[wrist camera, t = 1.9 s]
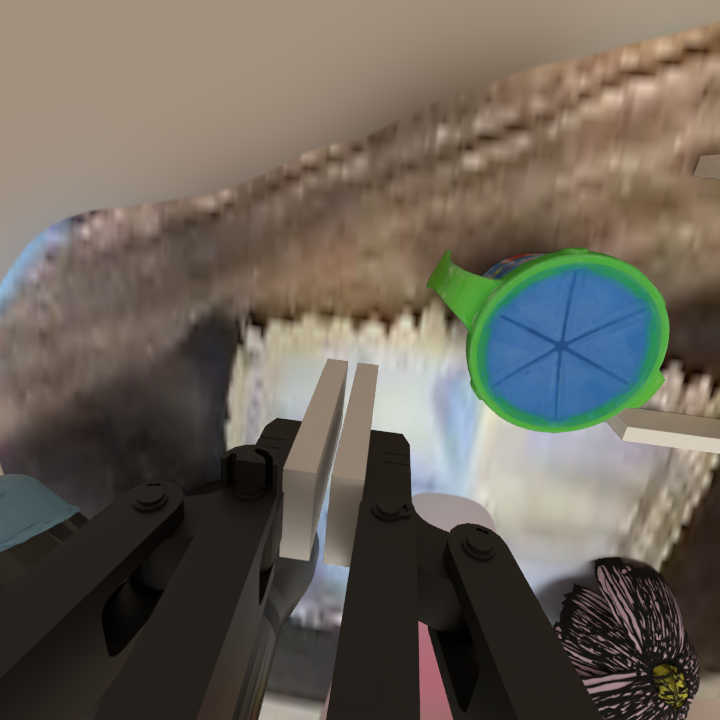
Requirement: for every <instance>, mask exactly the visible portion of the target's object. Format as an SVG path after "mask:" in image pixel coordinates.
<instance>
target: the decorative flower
mask: <svg viewBox="0 0 720 720" xmlns="http://www.w3.org/2000/svg"><path fill="white" fill-rule="evenodd" d="M652 569H653V568H652ZM595 576H596V578H597V581H598V585H599V588H600V591H601V593H602V594H603V596H602V595H600V594H598V593H596V592H595V591H593V590H591V589H588V588H586V587H583V586H580V585H576V584H574V587H573V591H572V592H570V593H567V594H564V596H565V597H566V599H565V600H564V601H563V602H562V603H561V604H562V605H563V609H562V611H561V613H560V615H561V617H560V622H559V623H558V622H557V621H556V623H555V625H553V626H552V627H553V629H554V631H555V632H556V634H557V636H558V638H559V640H560V641H561V643H562V645H563V647H564V649H565V650H566V652H567V654H568V656H569V658H570V659H571V661H572V663H573V665H574V667H575V668H576V670H577V672H578V674H579V676H580V677H581V679H582V681H583V683H584V685H585V686H586V688H587V690H588V692H589V694H590V695H591V697H592V699H593V701H594V703H595V704H596V706H597V708H598V710H599V712H600V713H601V715H602V717H603V719H604V720H685V719H686V717H687V713H688V710H689V704H691V703H692V701H693V699H694V697H695V695H696V693H697V691H698V688H699V681H700V667H699V661H698V658H697V653H696V651H695V649H694V646H693V644H692V642H691V640H690V638H689V636H688V634H687V632H685V630H684V625H683V619H682V615H681V612H680V609H679V606H678V604H677V601H676V599H675V597H674V595H673V593H672V591H671V589H670V588H669V586H668V584H667V583H666V581H665V580H664V578H663V577H662V576H660V575H659V574H658V573H657V572H656V571H655V570H654V569H653V570H651V569H650V568H648V567H647V569H645V568H641V567H639V568H638V567H637V568H633V566H632V565H630V564H626V563H624V562H622V560H621V559H620V558H604V559H598V561H597V560H596V563H595Z"/></svg>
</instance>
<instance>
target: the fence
mask: <svg viewBox="0 0 720 720" xmlns="http://www.w3.org/2000/svg"><path fill="white" fill-rule="evenodd" d="M693 176H699V177H708V178H717V179H720V154H717V155H705V156H700V159H699V161H698V164H697V167H696V169H695V172H694V174H693ZM606 422H607V423H608V425H609V426H610V427H611V428H612V429H613V430H614V432H615V433H616V434H617V435H618V436H619V437H620V439H621V440H623V441H631V442H638V443H645V444H653V445H660V446H668V447H675V448H682V449H690V450H697V451H704V452H712V453H719V454H720V419H714V418H706V417H699V416H691V415H684V414H676V413H669V412H661V411H654V410H646V409H638V408H626V409H624V410H623V411H621V412H620V413H618V414H617V415H615V416H613V417H612V418H610V419H608V420H606Z"/></svg>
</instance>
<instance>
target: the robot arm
mask: <svg viewBox="0 0 720 720" xmlns="http://www.w3.org/2000/svg"><path fill="white" fill-rule="evenodd" d="M347 368H348V361H341V360H334V359H328V360H327V362H326V364H325V367H324V369H323V372H322V374H321V377H320V379H319V382H318V384H317V387H316V389H315V391H314V394H313V396H312V399H311V401H310V404H309V406H308V409H307V411H306V414H305V416H304V419H303V421H295V420H288V419H281V418H276V419H275V420H273V421H272V422H271V423H269V424H268V425H266V426H265V428H264V430H263V432H262V434H261V435H260V438H259V439H258V441H257V443H256V445H243V446H238V447H235V448H233V449H231V450H229V451H227V452H226V453H225V454H224V455H223V456H222V457H221V482H218V483H213V484H210V485H207V486H204V487H202V488H200V489H198V490H197V491H195V492H193V493H192V494H191V495H190V496H184V495H183V491H182V490H181V488H180V486H178V485H177V484H175V483H173V482H169V481H163V480H158V481H149V482H145V483H142V484H139V485H137V486H135V487H133V488H132V489H130V490H128V491H127V492H125V493H124V494H123V495H122V496H120V497H119V498H118V499H116V500H115V501H114V502H113V503H111V504H110V505H109V506H108V507H106V508H105V509H104V510H103V511H101V512H100V513H99V514H98V515H96V516H95V517H94V518H92V519H91V520H90V521H89V520H88V519H87V518H86V517H85V516H83V515H82V514H81V513H80V512H79V511H80V510H81V509H80V508H79V507H78V506H77V505H73V504H72V505H70V504H69V503H67V502H66V501H65V500H63V499H62V498H61V497H59V496H58V495H57V494H56V493H54V492H53V491H52V490H50V489H49V488H48V487H46V486H45V485H44V484H42V483H41V482H40V481H38V480H37V479H35V478H33V477H31V476H28V475H24V474H7V475H2V476H0V720H258V719H259V715H260V711H261V707H262V703H263V699H264V695H265V691H266V687H267V683H268V679H269V675H270V671H271V667H272V663H273V659H274V655H275V651H276V647H277V643H278V640H279V636H280V632H281V629H282V627H283V626H284V624H285V623H286V621H287V619H288V618H289V616H290V615H291V613H292V612H293V610H294V609H295V607H296V606H297V604H298V602H299V601H300V599H301V598H302V596H303V595H304V593H305V592H306V590H307V588H308V587H309V585H310V583H311V581H312V579H313V576H314V573H315V568H316V564H317V559H318V554H319V541H318V536H317V533H316V529H317V525H318V521H319V517H320V513H321V509H322V504H323V500H324V496H325V492H326V488H327V484H328V479H329V475H330V471H331V467H332V463H333V459H334V454H335V450H336V446H337V442H338V438H339V434H340V429H341V425H342V416H343V407H344V397H345V387H346V378H347ZM377 373H378V365H371V364H364V363H358V364H357V369H356V373H355V377H354V382H353V386H352V390H351V395H350V399H349V403H348V407H347V412H346V416H345V420H344V425H343V429H342V433H341V438H340V442H339V446H338V451H337V455H336V459H335V463H334V468H333V472H332V477H331V488H330V498H329V508H328V518H327V528H326V539H325V549H324V559H323V563H326V564H332V565H339V566H345V567H350V570H349V577H348V583H347V590H346V596H345V602H344V609H343V615H342V622H341V628H340V634H339V641H338V647H337V654H336V660H335V667H334V673H333V679H332V686H331V692H330V699H329V706H328V711H327V718H326V720H420V694H419V693H420V691H419V639H418V638H419V636H418V621H420V622H422V623H424V624H426V625H428V631H429V635H430V638H431V642H432V646H433V649H434V653H435V656H436V660H437V663H438V667H439V670H440V674H441V677H442V681H443V684H444V688H445V692H446V695H447V698H448V702H449V706H450V709H451V712H452V716H453V720H604V719H603V717H602V715H601V713H600V712H599V710H598V708H597V706H596V704H595V703H594V701H593V699H592V697H591V695H590V694H589V692H588V690H587V688H586V686H585V685H584V683H583V681H582V679H581V677H580V676H579V674H578V672H577V670H576V668H575V667H574V665H573V663H572V661H571V659H570V658H569V656H568V654H567V652H566V650H565V649H564V647H563V645H562V643H561V641H560V640H559V638H558V636H557V634H556V632H555V631H554V629H553V627H552V625H551V623H550V622H549V620H548V618H547V616H546V614H545V613H544V611H543V609H542V607H541V605H540V604H539V602H538V600H537V598H536V596H535V595H534V593H533V591H532V589H531V587H530V586H529V584H528V582H527V580H526V578H525V577H524V575H523V573H522V571H521V569H520V568H519V566H518V564H517V562H516V560H515V559H514V557H513V555H512V553H511V551H510V550H509V548H508V546H507V545H506V543H505V542H504V541H503V540H502V538H501V537H500V536H499V535H497V534H496V533H495V532H493V531H492V530H490V529H488V528H486V527H483V526H481V525H477V524H470V523H466V524H461V525H457V526H456V527H454V528H453V529H452V530H451V531H450V533H449V532H447V531H444V530H442V529H439V528H437V527H435V526H433V525H431V524H429V523H427V522H426V521H424V520H423V519H422V518H421V517H420V516H419V515H418V514H417V513H416V511H415V509H414V506H413V505H412V497H411V469H410V444H409V443H408V441H407V440H406V438H405V437H404V436H403V434H398V433H391V432H384V431H376V430H371V424H372V415H373V407H374V398H375V390H376V381H377Z"/></svg>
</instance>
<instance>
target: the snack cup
mask: <svg viewBox="0 0 720 720" xmlns="http://www.w3.org/2000/svg"><path fill="white" fill-rule="evenodd" d="M451 254H452V251H451V250H447V251H446V252H445V254H444V255H443V257H442V258H441V260H440V262H439V263H438V265H437V267H436V268H435V270H434V272H433V273H432V275H431V277H430V279H429V281H428V283H427V287H428V288H431V289H433V290H434V291H435V292H437V294H438V295H439V296H440V297H441V299H442V300H443V301H444V302H445V303H446V304H447V305H448V307H449V308H450V309H451V310H452V311H453V312H454V313H455V315H456V316H457V317H458V318H459V319H460V320H461V321H462V322H463V324H464V325H465V326H466V328H467V330H468V334H467V341H466V358H467V365H468V370H469V373H470V377H471V381H470V383H471V387H472V389H473V391H474V392H475V394H476V395H477V397H478V399H481V400H483V401H484V402H485V403H486V405H487V406H488V407H489V408H490V409H491V410H493V411H494V412H495V413H496V414H497V415H498V416H499V417H501V418H503V419H504V420H506V421H507V422H509V423H512V424H514V425H516V426H519V427H522V428H525V429H528V430H533V431H540V432H549V433H559V432H569V431H575V430H580V429H584V428H587V427H591V426H594V425H597V424H599V423H601V422H604V421H606V420H608V419H610V418H612V417H613V416H615V415H617V414H618V413H620V412H621V411H623V410H624V409H626V408H638V409H639V407H640V406H642V405H644V404H645V403H646V402H647V401H648V400H649V399H650V398H651V397H652V396H653V395H654V394H655V393H656V392H657V390H658V389H659V388H660V387H661V385H662V384H663V382H664V381H665V379H664V376H663V375H662V373H661V372H660V370H659V368H660V366H661V364H662V362H663V360H664V357H665V353H666V350H667V345H668V340H669V332H670V331H669V319H668V315H667V311H666V308H665V301H664V298H663V296H662V295H661V293H660V291H659V290H657V289H656V287H655V286H654V285H653V283H652V282H651V281H650V280H649V279H648V278H647V277H646V276H645V275H644V274H642V273H641V271H640V270H639V269H637V268H635V267H633V266H632V265H630V264H628V263H626V262H624V261H622V260H620V259H618V258H616V257H613V256H609V255H606V254H602V253H598V252H592V251H588V249H586V248H565V249H562V250H560V251H558V252H553V253H549V254H521V255H516V256H512V257H509V258H506V259H504V260H502V261H500V262H498V263H497V264H495V265H494V266H492V267H491V268H490V269H489V270H488V271H486V272H485V273H484V274H483V275H482V276H479V275H476V274H473V273H471V272H468V271H465V270H463V269H462V268H460V267H459V266H458V265H456V264H455V263H454V262H453V261H451Z"/></svg>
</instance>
